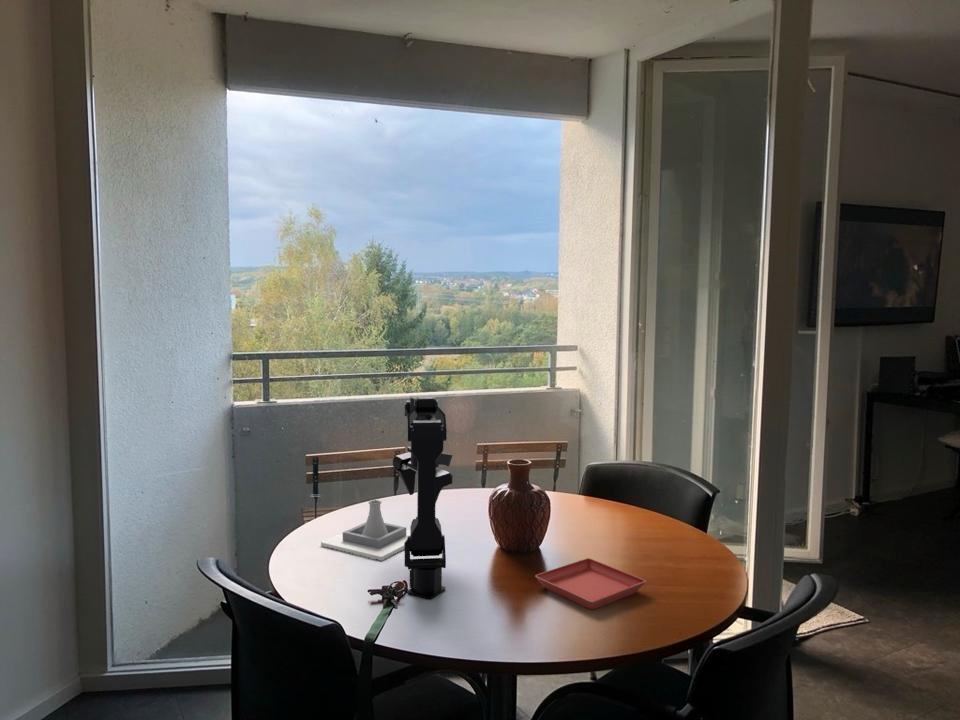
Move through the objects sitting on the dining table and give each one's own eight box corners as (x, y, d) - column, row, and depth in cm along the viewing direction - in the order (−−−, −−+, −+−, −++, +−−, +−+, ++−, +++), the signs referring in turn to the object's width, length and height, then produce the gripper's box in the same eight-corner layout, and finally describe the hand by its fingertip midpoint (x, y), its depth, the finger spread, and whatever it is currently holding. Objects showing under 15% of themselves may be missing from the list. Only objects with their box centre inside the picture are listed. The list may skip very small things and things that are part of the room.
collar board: (426, 537, 197) (426, 525, 197) (381, 560, 180) (381, 548, 180) (369, 524, 207) (369, 513, 207) (320, 545, 190) (320, 534, 190)
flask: (373, 544, 188) (373, 507, 187) (355, 538, 193) (355, 501, 192) (394, 537, 194) (394, 501, 193) (376, 531, 198) (376, 495, 198)
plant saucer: (533, 588, 165) (533, 574, 165) (588, 569, 176) (588, 556, 176) (591, 617, 151) (591, 601, 151) (647, 595, 162) (647, 580, 162)
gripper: (470, 447, 181) (468, 504, 185) (426, 427, 195) (425, 481, 199) (434, 457, 174) (433, 516, 178) (391, 435, 188) (391, 491, 192)
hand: (421, 500), depth 187 cm, fingers open, 9 cm apart
